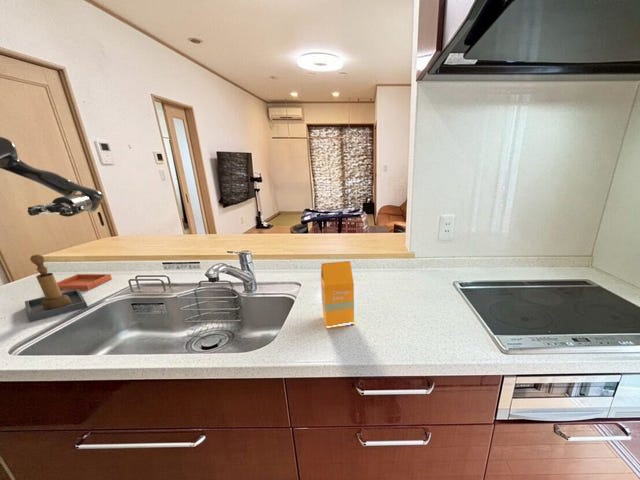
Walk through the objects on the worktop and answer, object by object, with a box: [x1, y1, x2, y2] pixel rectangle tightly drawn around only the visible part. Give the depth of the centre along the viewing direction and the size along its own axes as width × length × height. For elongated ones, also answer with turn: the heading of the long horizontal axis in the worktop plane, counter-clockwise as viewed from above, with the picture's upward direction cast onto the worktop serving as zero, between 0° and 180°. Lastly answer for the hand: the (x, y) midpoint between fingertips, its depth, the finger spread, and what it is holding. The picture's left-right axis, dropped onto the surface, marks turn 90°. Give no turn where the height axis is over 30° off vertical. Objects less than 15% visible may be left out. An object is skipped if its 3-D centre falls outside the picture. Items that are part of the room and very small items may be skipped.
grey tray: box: [24, 289, 89, 323], centre depth 101 cm, size 16×14×2 cm
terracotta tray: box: [56, 273, 113, 291], centre depth 119 cm, size 14×12×2 cm
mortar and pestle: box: [30, 254, 71, 309], centre depth 98 cm, size 7×6×18 cm
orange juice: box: [320, 260, 355, 330], centre depth 91 cm, size 8×9×20 cm
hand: (45, 212), depth 105 cm, fingers open, 8 cm apart
